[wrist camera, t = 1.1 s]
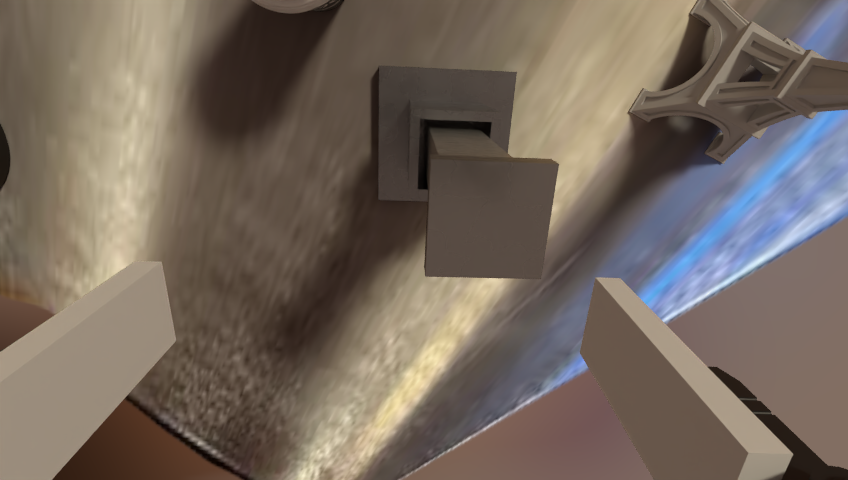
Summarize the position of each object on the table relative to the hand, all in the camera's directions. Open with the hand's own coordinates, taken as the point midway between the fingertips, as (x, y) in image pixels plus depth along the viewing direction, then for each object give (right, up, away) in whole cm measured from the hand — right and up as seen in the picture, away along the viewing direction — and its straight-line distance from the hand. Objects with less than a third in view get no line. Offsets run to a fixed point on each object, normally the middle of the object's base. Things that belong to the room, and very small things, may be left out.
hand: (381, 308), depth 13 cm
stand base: (+3, +14, +35) cm, 37 cm away
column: (+4, +13, +33) cm, 36 cm away
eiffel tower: (+33, +19, +34) cm, 51 cm away
